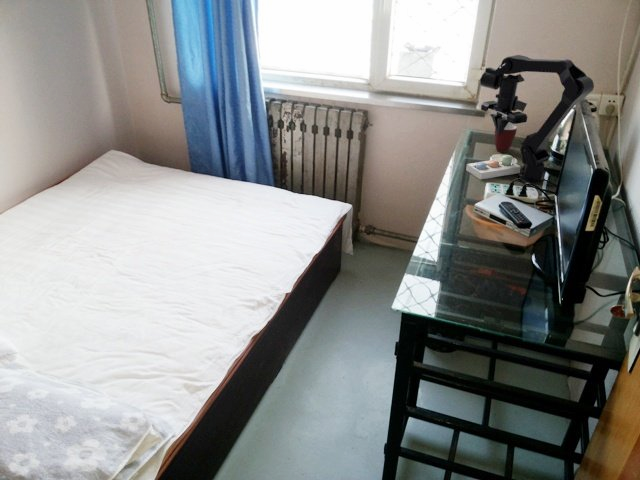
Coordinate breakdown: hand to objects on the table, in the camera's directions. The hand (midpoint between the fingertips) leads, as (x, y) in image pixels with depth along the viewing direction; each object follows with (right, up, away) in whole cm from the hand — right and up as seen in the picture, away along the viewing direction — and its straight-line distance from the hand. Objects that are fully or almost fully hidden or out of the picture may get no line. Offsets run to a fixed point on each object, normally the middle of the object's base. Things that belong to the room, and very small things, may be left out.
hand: (499, 134), depth 192 cm
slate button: (-8, -14, -2) cm, 16 cm away
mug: (+8, -2, +20) cm, 22 cm away
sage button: (+3, -11, +1) cm, 11 cm away
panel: (-2, -14, 0) cm, 14 cm away
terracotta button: (-2, -13, 0) cm, 13 cm away
